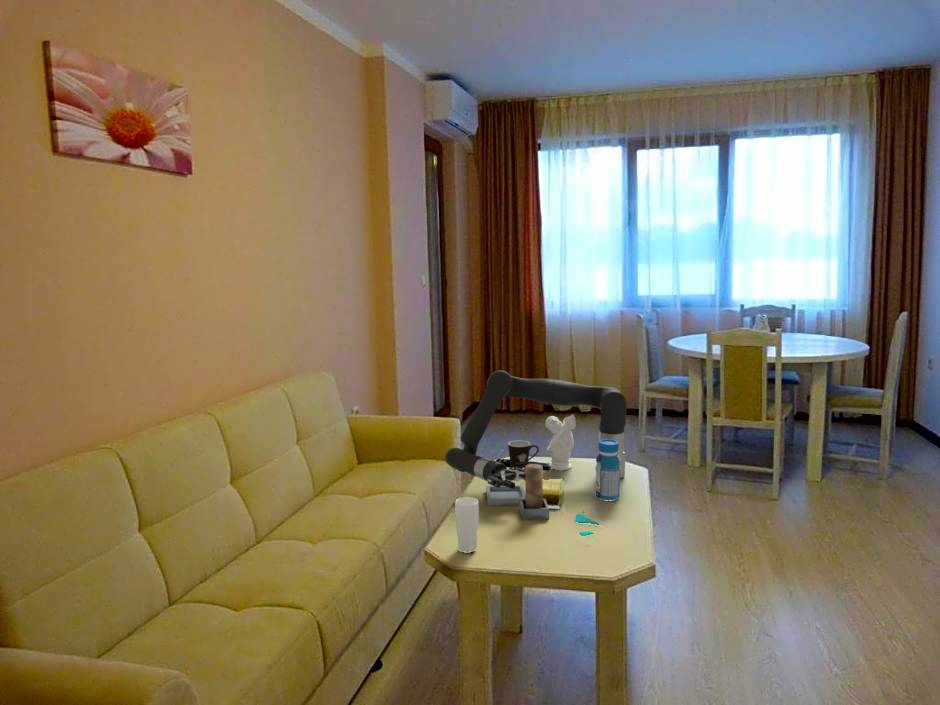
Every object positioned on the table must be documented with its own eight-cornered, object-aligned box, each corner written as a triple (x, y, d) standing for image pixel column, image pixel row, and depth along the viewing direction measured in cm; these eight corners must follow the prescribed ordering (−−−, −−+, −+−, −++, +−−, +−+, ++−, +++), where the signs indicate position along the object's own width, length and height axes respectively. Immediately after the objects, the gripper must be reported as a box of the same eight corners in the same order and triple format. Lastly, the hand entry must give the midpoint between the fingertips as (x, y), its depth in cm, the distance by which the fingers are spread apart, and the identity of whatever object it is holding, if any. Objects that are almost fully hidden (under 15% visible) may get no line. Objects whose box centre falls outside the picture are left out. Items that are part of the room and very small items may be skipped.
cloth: (604, 552, 201) (604, 544, 201) (557, 546, 206) (557, 538, 205) (615, 517, 225) (616, 510, 225) (573, 512, 230) (573, 506, 229)
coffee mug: (506, 471, 268) (506, 446, 267) (509, 464, 277) (509, 439, 275) (537, 472, 266) (537, 447, 265) (538, 465, 275) (538, 441, 273)
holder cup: (545, 510, 230) (545, 498, 230) (549, 520, 222) (549, 508, 221) (519, 510, 230) (519, 499, 230) (522, 521, 222) (522, 509, 221)
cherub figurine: (542, 468, 272) (541, 413, 269) (557, 459, 282) (557, 406, 279) (570, 473, 265) (570, 417, 262) (585, 464, 275) (585, 410, 272)
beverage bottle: (609, 504, 235) (610, 447, 231) (589, 497, 241) (590, 441, 238) (625, 498, 240) (626, 442, 236) (605, 491, 246) (606, 436, 243)
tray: (522, 491, 247) (522, 484, 247) (526, 505, 234) (526, 498, 234) (486, 492, 247) (486, 485, 247) (487, 506, 234) (487, 499, 234)
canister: (541, 510, 229) (541, 463, 226) (543, 517, 223) (543, 469, 221) (524, 511, 229) (524, 464, 226) (526, 517, 223) (526, 469, 220)
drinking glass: (459, 557, 198) (458, 506, 195) (453, 547, 204) (452, 498, 202) (482, 553, 200) (481, 503, 197) (475, 543, 206) (474, 495, 204)
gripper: (474, 464, 235) (508, 476, 223) (504, 455, 244) (538, 466, 232) (474, 486, 236) (508, 499, 224) (505, 476, 245) (538, 488, 233)
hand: (523, 482), depth 228 cm, fingers open, 8 cm apart
